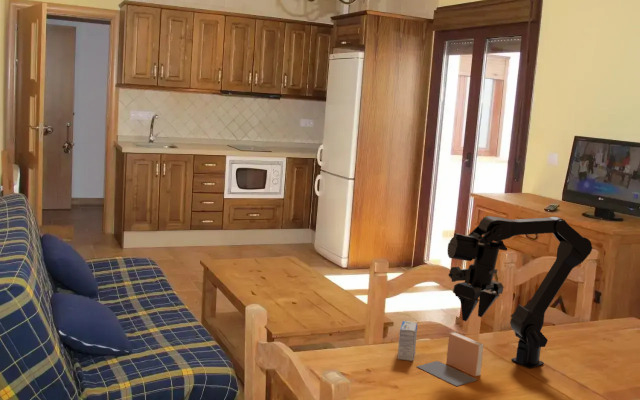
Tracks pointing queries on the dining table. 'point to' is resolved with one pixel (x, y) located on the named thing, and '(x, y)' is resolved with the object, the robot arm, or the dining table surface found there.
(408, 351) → the medicine box
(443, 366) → the grey mat
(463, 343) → the tile
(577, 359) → the dining table surface
